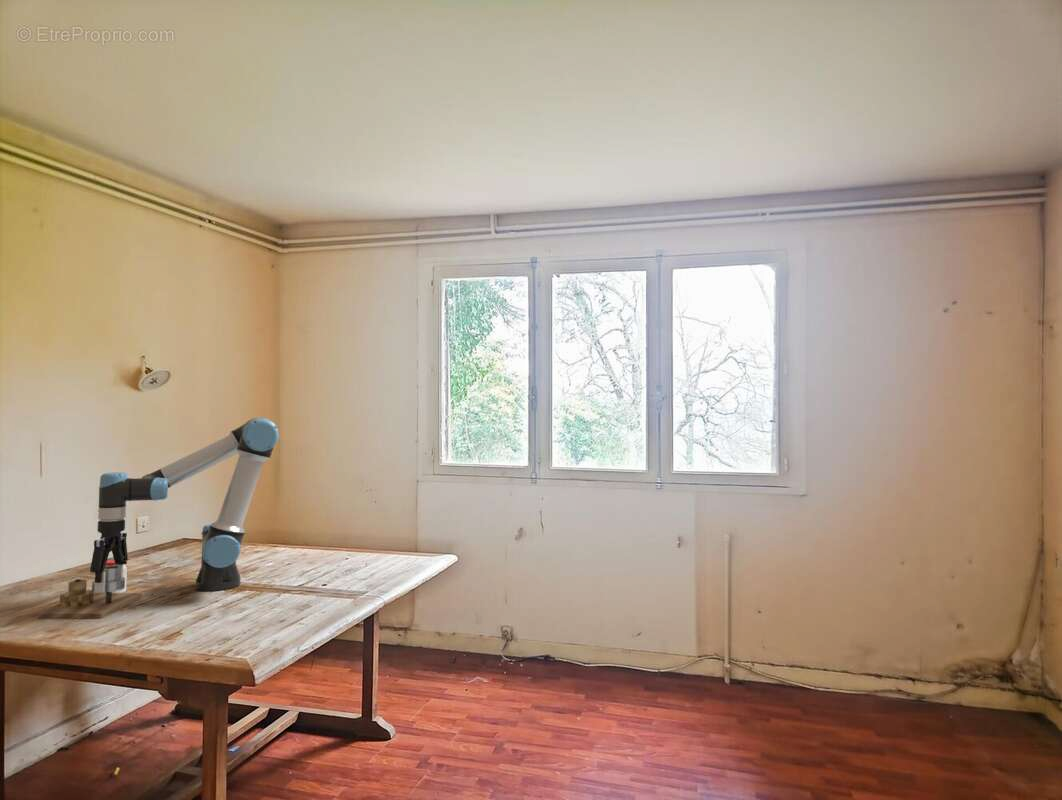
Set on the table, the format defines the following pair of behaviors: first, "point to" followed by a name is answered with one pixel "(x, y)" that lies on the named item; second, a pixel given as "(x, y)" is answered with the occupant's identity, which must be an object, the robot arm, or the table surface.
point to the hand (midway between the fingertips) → (108, 588)
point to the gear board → (92, 607)
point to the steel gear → (112, 579)
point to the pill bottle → (112, 562)
